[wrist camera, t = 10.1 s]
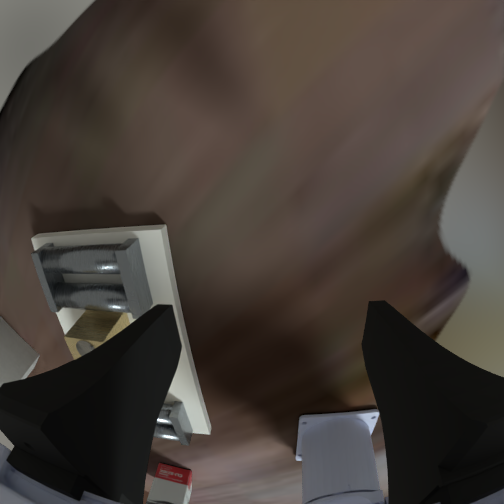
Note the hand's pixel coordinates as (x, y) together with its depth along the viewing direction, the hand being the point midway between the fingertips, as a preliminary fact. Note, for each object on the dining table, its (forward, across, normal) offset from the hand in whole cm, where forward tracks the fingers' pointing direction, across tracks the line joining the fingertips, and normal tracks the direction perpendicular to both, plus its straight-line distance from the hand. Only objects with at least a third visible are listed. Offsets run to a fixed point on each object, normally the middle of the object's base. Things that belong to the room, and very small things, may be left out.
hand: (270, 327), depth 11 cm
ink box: (+10, +15, +37) cm, 41 cm away
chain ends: (+8, +13, +10) cm, 18 cm away
